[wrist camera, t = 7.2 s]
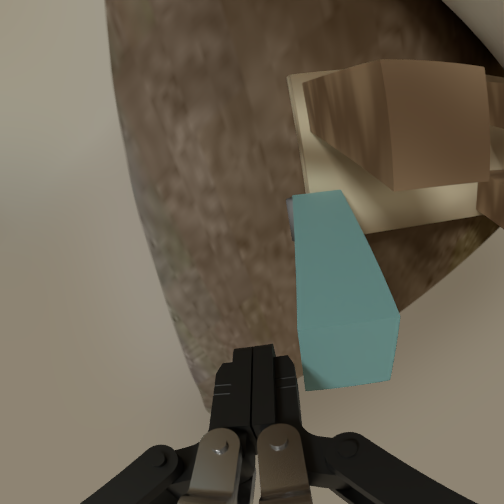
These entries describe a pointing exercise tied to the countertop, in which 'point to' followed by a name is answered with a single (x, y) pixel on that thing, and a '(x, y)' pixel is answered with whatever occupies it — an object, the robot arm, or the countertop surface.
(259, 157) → the countertop surface
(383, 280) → the folding leg
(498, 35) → the mug
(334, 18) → the countertop surface
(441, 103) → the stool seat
